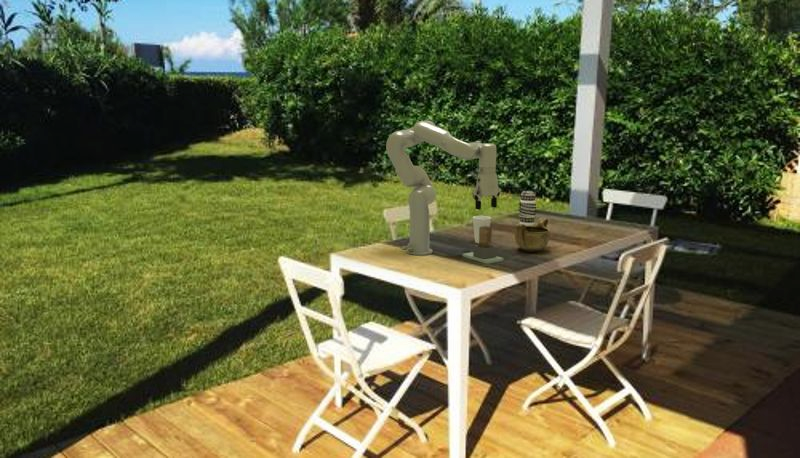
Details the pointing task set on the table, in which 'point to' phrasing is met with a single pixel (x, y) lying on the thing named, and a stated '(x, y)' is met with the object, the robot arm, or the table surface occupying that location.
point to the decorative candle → (527, 208)
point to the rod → (485, 236)
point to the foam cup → (480, 225)
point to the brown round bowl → (532, 236)
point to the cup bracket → (484, 254)
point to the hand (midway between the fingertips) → (486, 208)
